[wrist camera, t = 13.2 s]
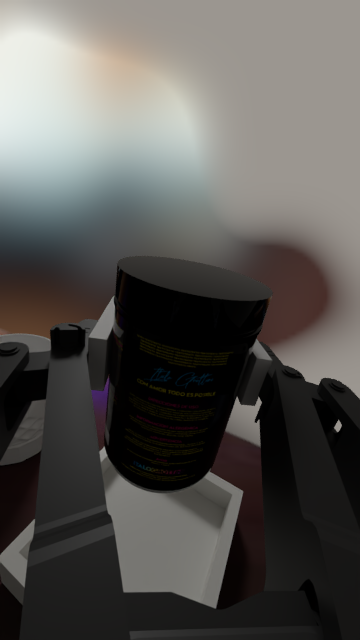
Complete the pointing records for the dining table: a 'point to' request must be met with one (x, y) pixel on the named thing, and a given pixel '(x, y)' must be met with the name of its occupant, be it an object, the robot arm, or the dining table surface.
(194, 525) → the tray
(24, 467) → the dining table surface
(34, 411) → the white cup
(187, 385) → the supplement container
